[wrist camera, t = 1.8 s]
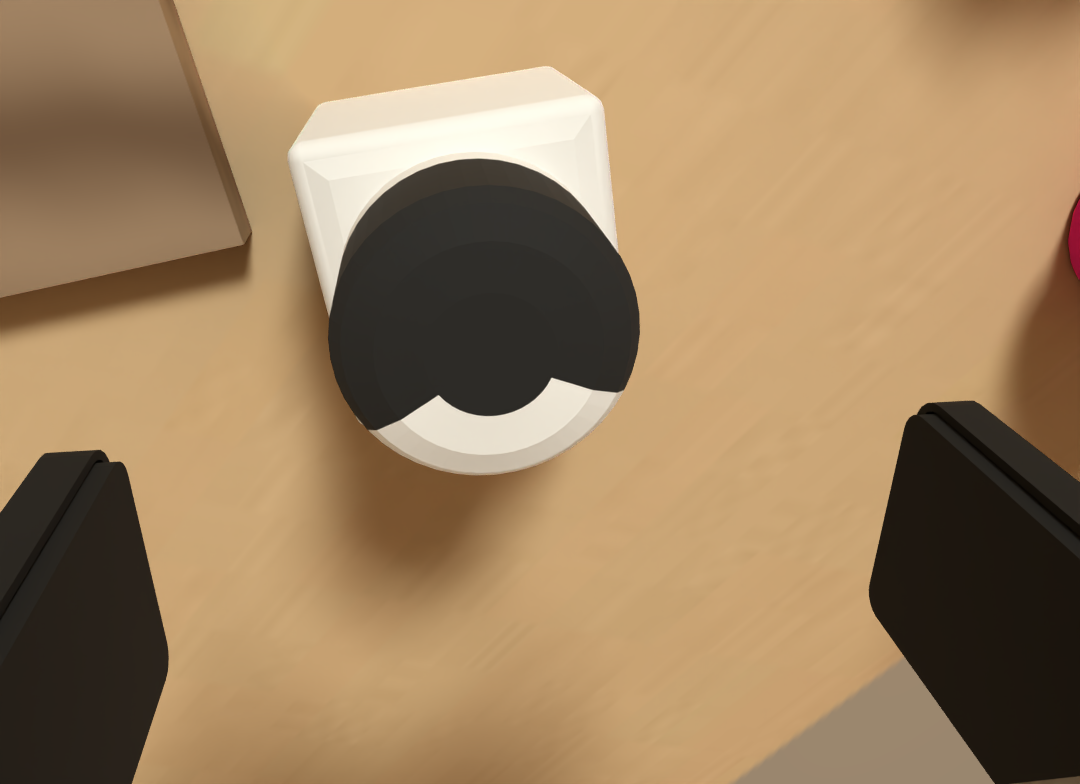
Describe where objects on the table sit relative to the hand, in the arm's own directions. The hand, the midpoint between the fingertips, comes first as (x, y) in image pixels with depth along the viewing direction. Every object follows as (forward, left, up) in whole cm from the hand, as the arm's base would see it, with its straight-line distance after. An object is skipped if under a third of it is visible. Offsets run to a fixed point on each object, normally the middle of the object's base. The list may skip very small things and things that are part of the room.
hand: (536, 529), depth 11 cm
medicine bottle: (0, 0, -18) cm, 18 cm away
